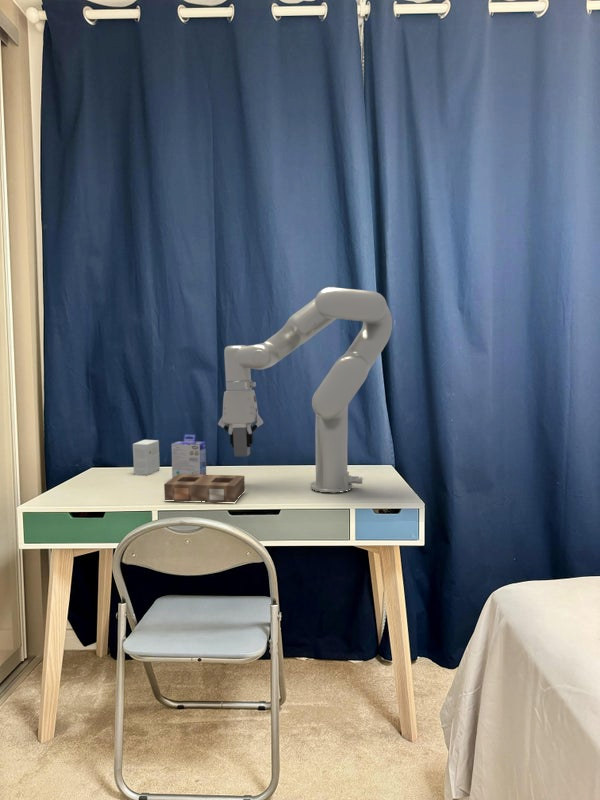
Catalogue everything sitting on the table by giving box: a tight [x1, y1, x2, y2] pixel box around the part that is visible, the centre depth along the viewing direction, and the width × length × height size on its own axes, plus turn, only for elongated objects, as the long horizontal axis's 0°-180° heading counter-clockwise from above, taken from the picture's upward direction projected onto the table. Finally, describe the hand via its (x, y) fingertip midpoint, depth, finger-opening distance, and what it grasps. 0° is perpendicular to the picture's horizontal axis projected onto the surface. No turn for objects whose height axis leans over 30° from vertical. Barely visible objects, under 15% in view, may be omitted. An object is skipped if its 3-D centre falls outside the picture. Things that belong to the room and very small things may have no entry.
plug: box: [233, 423, 251, 457], centre depth 182 cm, size 4×4×10 cm
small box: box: [132, 439, 161, 476], centre depth 203 cm, size 8×6×10 cm
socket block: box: [163, 474, 246, 502], centre depth 172 cm, size 20×12×5 cm, turn 82°
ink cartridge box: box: [171, 433, 207, 479], centre depth 192 cm, size 10×6×14 cm, turn 78°
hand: (241, 445), depth 183 cm, fingers closed on plug, 4 cm apart
